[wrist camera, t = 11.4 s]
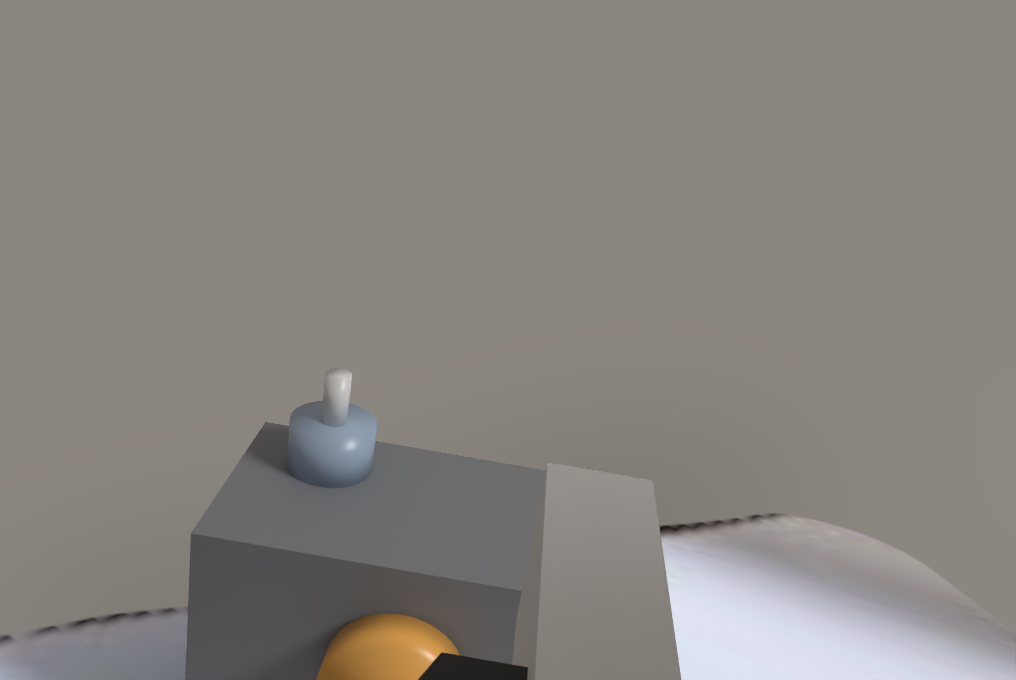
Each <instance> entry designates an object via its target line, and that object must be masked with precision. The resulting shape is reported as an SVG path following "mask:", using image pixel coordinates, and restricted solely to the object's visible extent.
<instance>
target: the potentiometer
mask: <svg viewBox="0 0 1016 680" xmlns="http://www.w3.org/2000/svg"><path fill="white" fill-rule="evenodd" d="M351 380H352V374H351V373H350V372H349V371H347V370H344V369H330V370H327V371H326V373H325V382H324V383H325V384H324V394H323V401H317V402H311V403H307V404H304V405H302V406H300V407H298V408H296V409H295V410H294V411H293V412H292V414H291V416H290V426H289V437H288V449H287V462H286V465H287V469H288V471H289V472H290V473H291V475H292V476H294V477H295V478H296V479H298V480H300V481H302V482H304V483H306V484H309V485H313V486H317V487H324V488H343V487H349V486H353V485H356V484H358V483H360V482H362V481H364V480H365V479H366V478H368V476H369V475H370V474H371V471H372V464H373V456H374V448H375V439H376V431H377V420H376V418H375V417H374V416H373V415H372V414H371V413H370V412H369V411H367V410H365V409H363V408H362V407H359V406H357V405H354V404H350V403H349V399H350V389H351Z"/></svg>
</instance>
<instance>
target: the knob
mask: <svg viewBox="0 0 1016 680" xmlns="http://www.w3.org/2000/svg"><path fill="white" fill-rule="evenodd" d="M441 652H443V653H449V654H455V655H460V654H459V652H458V650H457V649H456V647H455V646H454V644H453V643H452V642H451V641H450V640H449V639H448V638H447V637H446V636H445V635H444V634H443V633H442V632H441V631H439V630H438V629H437V628H435V627H433V626H432V625H430V624H428V623H426V622H424V621H422V620H419V619H416V618H413V617H410V616H405V615H400V614H375V615H370V616H366V617H363V618H360V619H357V620H355V621H353V622H351V623H349V624H348V625H346V626H345V627H343V628H342V629H341V630H340V631H339V632H338V633H337V634H336V635H335V636H334V638H333V639H332V641H331V642H330V644H329V646H328V649H327V651H326V654H325V657H324V660H323V662H322V665H321V668H320V671H319V673H318V676H317V679H316V680H418V679H419V678H420V676H421V675H422V674H423V673H424V672H425V671H426V670H427V668H428V667H429V666H430V665H431V664H432V663H433V661H434V660H435V659H436V658H437V657H438V656H439V655H440V653H441Z"/></svg>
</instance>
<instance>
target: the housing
mask: <svg viewBox="0 0 1016 680" xmlns="http://www.w3.org/2000/svg"><path fill="white" fill-rule="evenodd" d="M288 437H289V426H285V425H279V424H274V423H268V422H265V424H264V425H263V427H262V428H261V430H260V431H259V433H258V434H257V436H256V438H255V439H254V440H253V442H252V443H251V445H250V446H249V448H248V449H247V451H246V453H245V454H244V455H243V457H242V458H241V460H240V461H239V463H238V464H237V466H236V467H235V469H234V470H233V472H232V473H231V475H230V476H229V478H228V479H227V481H226V482H225V484H224V485H223V487H222V488H221V490H220V491H219V492H218V494H217V496H216V497H215V499H214V500H213V501H212V503H211V504H210V506H209V507H208V509H207V510H206V512H205V513H204V515H203V516H202V518H201V519H200V521H199V522H198V524H197V525H196V527H195V528H194V530H193V531H192V533H191V549H190V551H191V552H190V576H189V603H188V630H187V656H186V680H316V679H317V676H318V673H319V671H320V668H321V665H322V662H323V660H324V657H325V654H326V651H327V649H328V646H329V644H330V642H331V641H332V639H333V638H334V636H335V635H336V634H337V633H338V632H339V631H340V630H341V629H342V628H343V627H345V626H346V625H348V624H349V623H351V622H353V621H355V620H357V619H360V618H363V617H366V616H370V615H375V614H400V615H405V616H410V617H413V618H416V619H419V620H422V621H424V622H426V623H428V624H430V625H432V626H433V627H435V628H437V629H438V630H439V631H441V632H442V633H443V634H444V635H445V636H446V637H447V638H448V639H449V640H450V641H451V642H452V643H453V644H454V646H455V647H456V649H457V650H458V652H459V654H460V656H466V657H472V658H478V659H483V660H489V661H495V662H501V663H506V664H512V662H513V651H514V640H515V629H516V618H517V613H518V608H519V603H520V598H521V593H522V588H523V583H524V578H525V573H526V568H527V563H528V558H529V553H530V548H531V543H532V538H533V533H534V528H535V523H536V518H537V513H538V508H539V503H540V498H541V493H542V488H543V483H544V478H545V473H546V471H544V470H538V469H532V468H527V467H521V466H515V465H510V464H503V463H497V462H492V461H487V460H481V459H475V458H469V457H464V456H458V455H452V454H446V453H440V452H434V451H429V450H423V449H417V448H412V447H405V446H399V445H394V444H389V443H382V442H377V441H375V448H374V456H373V464H372V471H371V474H370V475H369V476H368V478H366V479H365V480H364V481H362V482H360V483H358V484H356V485H353V486H349V487H343V488H324V487H317V486H313V485H309V484H306V483H304V482H302V481H300V480H298V479H296V478H295V477H294V476H292V475H291V473H290V472H289V471H288V469H287V465H286V462H287V449H288Z"/></svg>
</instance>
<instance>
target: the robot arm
mask: <svg viewBox="0 0 1016 680" xmlns="http://www.w3.org/2000/svg"><path fill="white" fill-rule="evenodd" d="M418 680H681V675H680V668H679V661H678V654H677V647H676V640H675V633H674V626H673V619H672V612H671V605H670V598H669V591H668V584H667V577H666V570H665V563H664V556H663V549H662V542H661V535H660V528H659V521H658V514H657V508H656V500H655V493H654V487H653V481H652V480H647V479H640V478H635V477H629V476H624V475H617V474H612V473H606V472H600V471H595V470H589V469H583V468H577V467H572V466H566V465H560V464H554V463H549V462H548V463H547V469H546V473H545V478H544V483H543V488H542V493H541V498H540V503H539V508H538V513H537V518H536V523H535V528H534V533H533V538H532V543H531V548H530V553H529V558H528V563H527V568H526V573H525V578H524V583H523V588H522V593H521V598H520V603H519V608H518V613H517V618H516V629H515V640H514V651H513V662H512V664H506V663H501V662H495V661H489V660H483V659H478V658H472V657H466V656H460V655H455V654H449V653H443V652H441V653H440V655H439V656H438V657H437V658H436V659H435V660H434V661H433V663H432V664H431V665H430V666H429V667H428V668H427V670H426V671H425V672H424V673H423V674H422V675H421V676H420V678H419V679H418Z"/></svg>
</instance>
